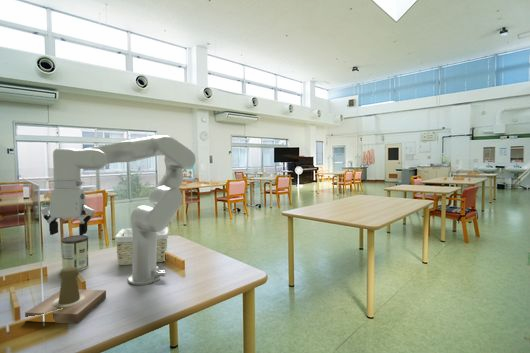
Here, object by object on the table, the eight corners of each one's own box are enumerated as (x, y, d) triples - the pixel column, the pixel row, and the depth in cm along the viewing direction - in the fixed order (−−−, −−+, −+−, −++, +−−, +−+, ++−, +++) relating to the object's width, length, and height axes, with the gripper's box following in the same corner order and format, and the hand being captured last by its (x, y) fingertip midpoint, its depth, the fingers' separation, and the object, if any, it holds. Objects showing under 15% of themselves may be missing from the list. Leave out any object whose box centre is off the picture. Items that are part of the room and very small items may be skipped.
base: (106, 298, 103) (106, 289, 103) (77, 323, 87) (77, 313, 87) (62, 296, 103) (62, 288, 102) (25, 322, 87) (25, 312, 86)
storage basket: (113, 267, 132) (113, 236, 131) (121, 255, 148) (121, 228, 147) (167, 263, 139) (167, 234, 138) (169, 252, 154) (169, 226, 153)
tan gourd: (68, 305, 91) (68, 272, 90) (53, 303, 92) (53, 270, 92) (84, 296, 97) (84, 265, 96) (69, 294, 98) (69, 264, 98)
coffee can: (71, 263, 134) (71, 234, 134) (93, 264, 135) (93, 235, 134) (56, 272, 124) (55, 240, 123) (79, 272, 124) (79, 241, 124)
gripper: (99, 184, 100) (100, 231, 101) (49, 183, 99) (50, 230, 100) (87, 186, 92) (88, 237, 93) (32, 185, 91) (34, 236, 93)
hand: (68, 234), depth 97 cm, fingers open, 9 cm apart
